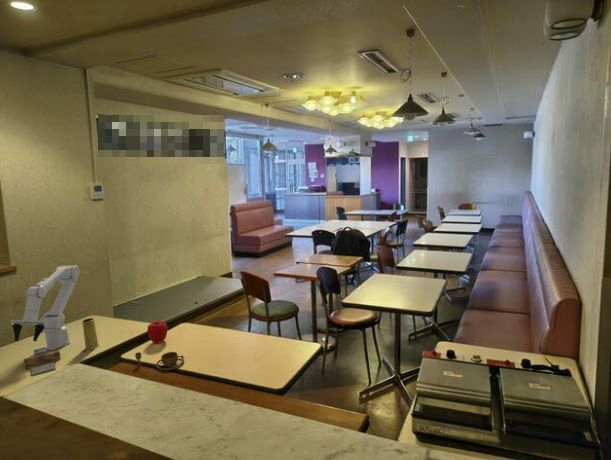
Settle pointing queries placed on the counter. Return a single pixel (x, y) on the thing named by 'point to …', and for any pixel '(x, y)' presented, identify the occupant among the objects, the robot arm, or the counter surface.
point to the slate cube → (40, 351)
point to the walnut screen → (42, 359)
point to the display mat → (43, 368)
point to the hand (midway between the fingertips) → (25, 341)
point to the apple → (157, 331)
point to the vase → (90, 333)
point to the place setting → (164, 360)
